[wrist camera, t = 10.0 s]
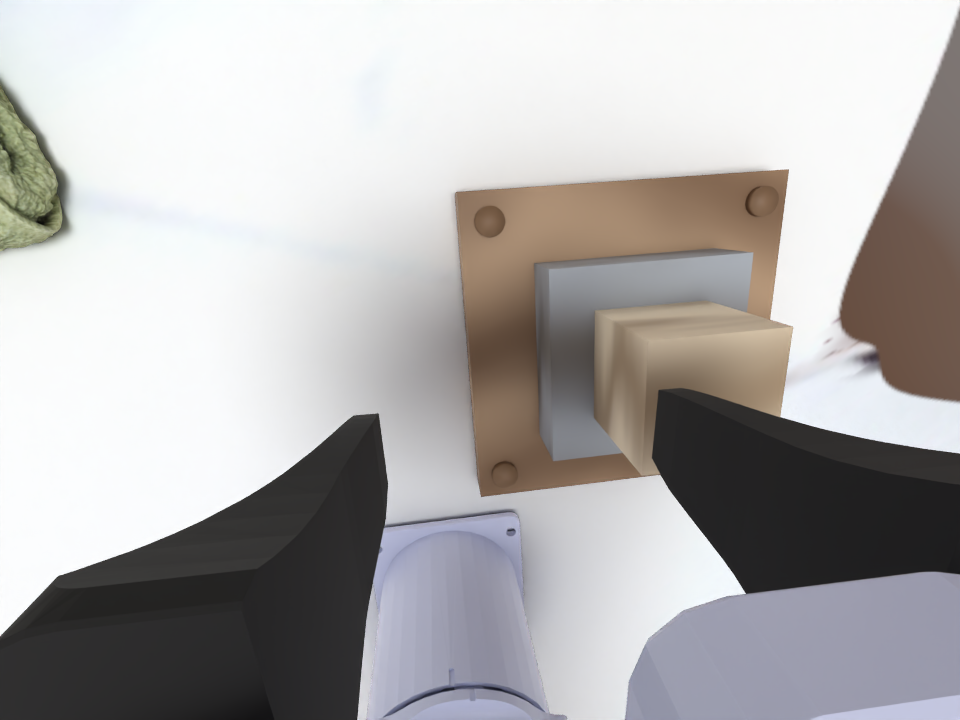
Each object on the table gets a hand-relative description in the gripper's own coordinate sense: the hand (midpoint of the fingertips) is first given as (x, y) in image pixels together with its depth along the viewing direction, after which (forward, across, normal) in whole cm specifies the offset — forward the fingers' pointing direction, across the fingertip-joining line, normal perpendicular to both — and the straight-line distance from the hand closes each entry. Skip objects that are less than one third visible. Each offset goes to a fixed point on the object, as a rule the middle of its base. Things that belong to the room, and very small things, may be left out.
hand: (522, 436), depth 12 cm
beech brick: (+6, -6, +1) cm, 9 cm away
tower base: (+10, -6, +1) cm, 12 cm away
